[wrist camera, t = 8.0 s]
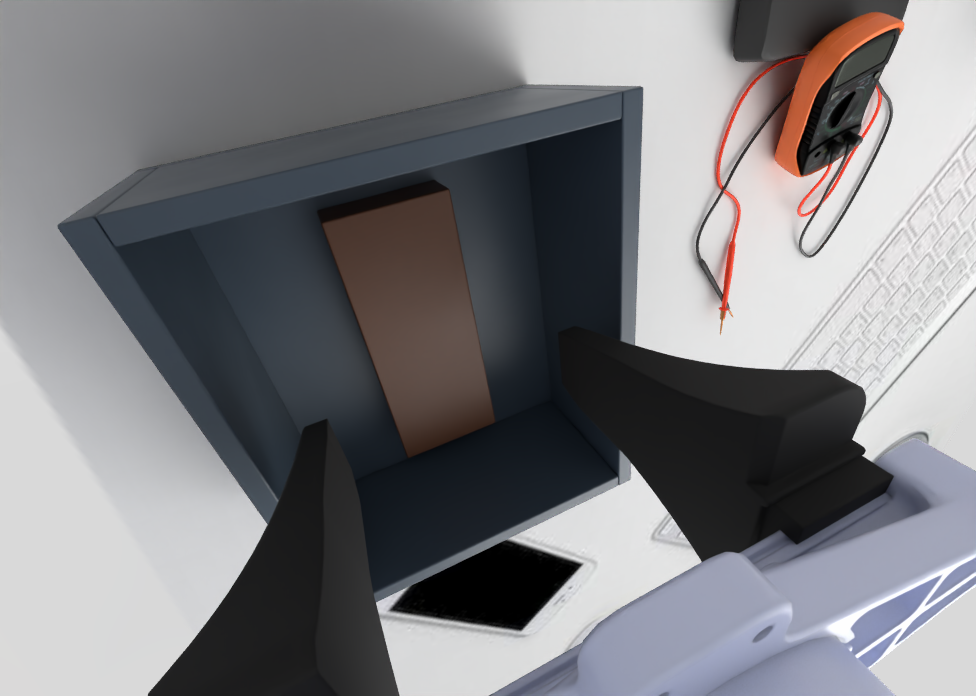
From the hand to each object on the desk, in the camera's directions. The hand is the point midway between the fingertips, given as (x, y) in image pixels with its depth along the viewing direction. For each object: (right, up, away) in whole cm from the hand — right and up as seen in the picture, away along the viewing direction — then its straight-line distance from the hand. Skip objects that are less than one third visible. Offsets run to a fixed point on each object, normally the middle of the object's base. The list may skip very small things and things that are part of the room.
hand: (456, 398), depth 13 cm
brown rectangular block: (-2, +2, +4) cm, 5 cm away
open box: (-2, +3, +5) cm, 6 cm away
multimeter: (+16, +11, +8) cm, 21 cm away
